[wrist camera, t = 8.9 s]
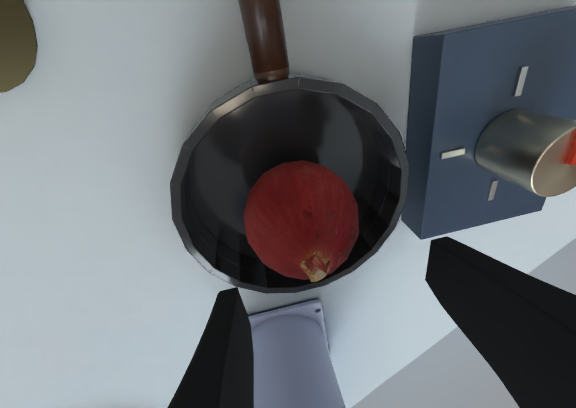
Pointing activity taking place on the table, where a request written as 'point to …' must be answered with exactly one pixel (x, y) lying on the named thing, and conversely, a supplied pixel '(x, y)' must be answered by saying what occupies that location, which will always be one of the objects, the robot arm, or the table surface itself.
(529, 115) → the knob
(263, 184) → the red pomegranate
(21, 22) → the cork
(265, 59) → the skillet handle
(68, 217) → the table surface
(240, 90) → the skillet
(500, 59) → the blue control panel
